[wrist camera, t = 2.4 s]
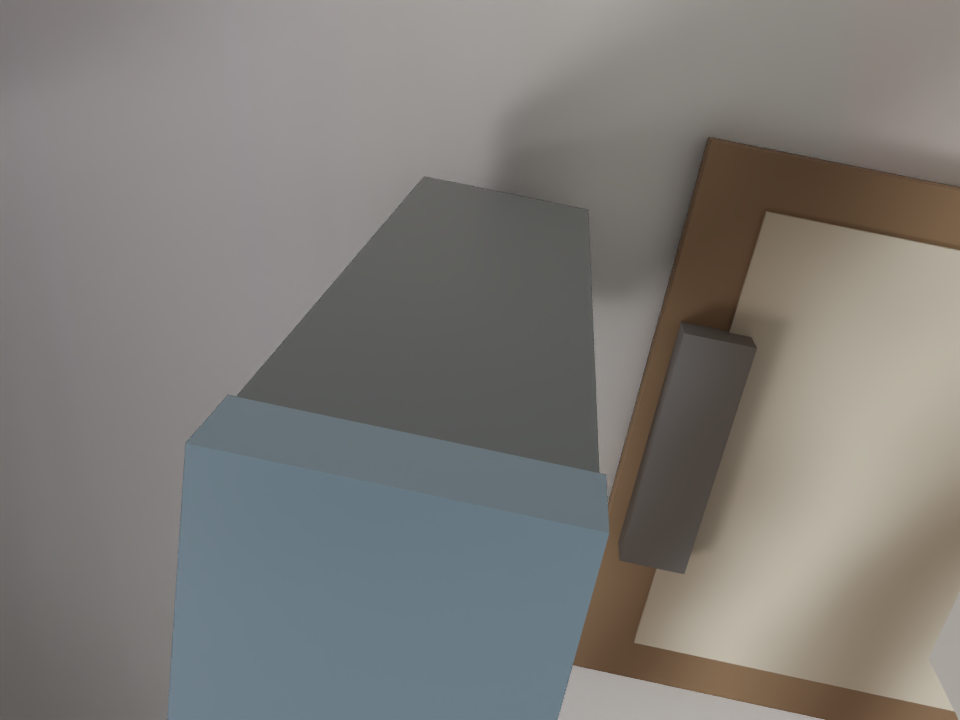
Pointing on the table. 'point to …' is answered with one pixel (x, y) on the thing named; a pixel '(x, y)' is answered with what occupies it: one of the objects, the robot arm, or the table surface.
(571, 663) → the blue-grey tall block
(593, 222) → the table surface
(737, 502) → the clipboard
